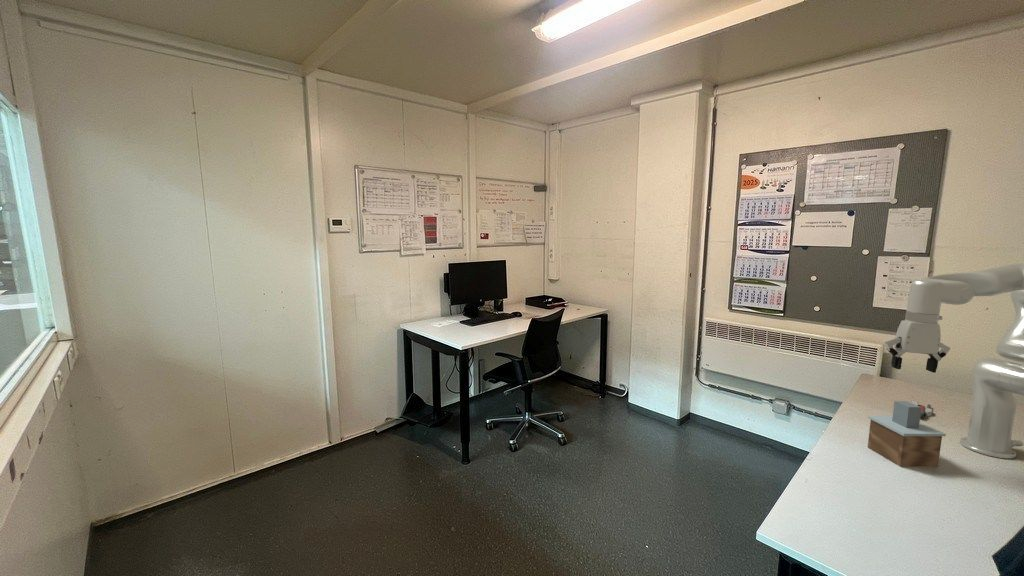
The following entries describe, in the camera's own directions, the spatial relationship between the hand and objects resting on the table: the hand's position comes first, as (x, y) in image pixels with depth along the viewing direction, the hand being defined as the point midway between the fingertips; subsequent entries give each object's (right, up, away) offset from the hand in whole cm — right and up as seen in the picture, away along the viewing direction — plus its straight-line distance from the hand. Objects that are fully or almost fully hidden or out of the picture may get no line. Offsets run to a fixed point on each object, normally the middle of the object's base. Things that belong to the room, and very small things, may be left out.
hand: (913, 369), depth 133 cm
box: (-2, -29, +2) cm, 30 cm away
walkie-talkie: (+39, -26, +38) cm, 60 cm away
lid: (-2, -20, +1) cm, 20 cm away
